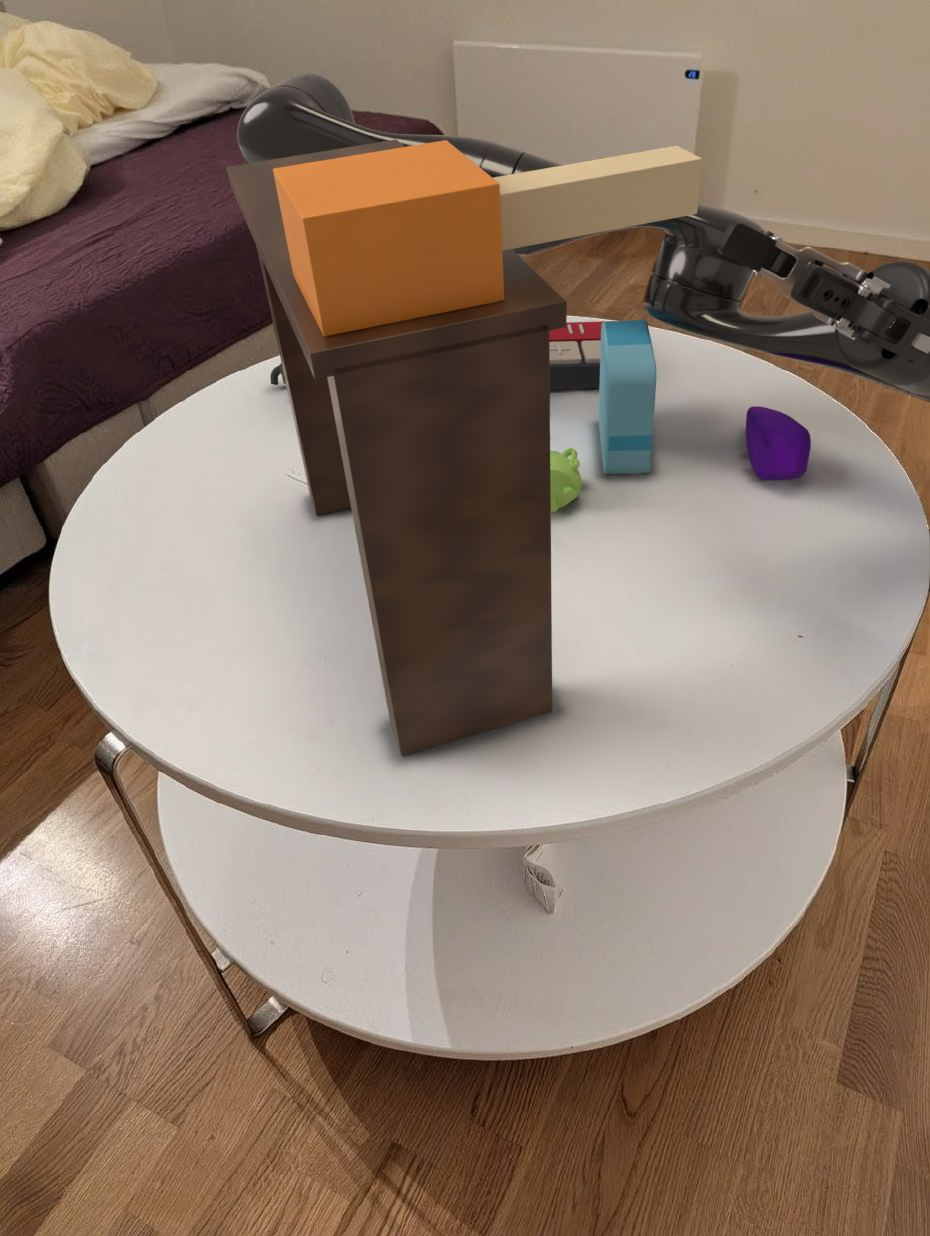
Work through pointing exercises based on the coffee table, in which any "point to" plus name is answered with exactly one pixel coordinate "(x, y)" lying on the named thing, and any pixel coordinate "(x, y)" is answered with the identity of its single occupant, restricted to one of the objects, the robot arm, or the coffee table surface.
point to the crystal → (776, 444)
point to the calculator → (575, 355)
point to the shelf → (431, 478)
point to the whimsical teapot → (564, 478)
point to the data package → (626, 396)
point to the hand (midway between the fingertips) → (761, 257)
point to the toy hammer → (452, 223)
